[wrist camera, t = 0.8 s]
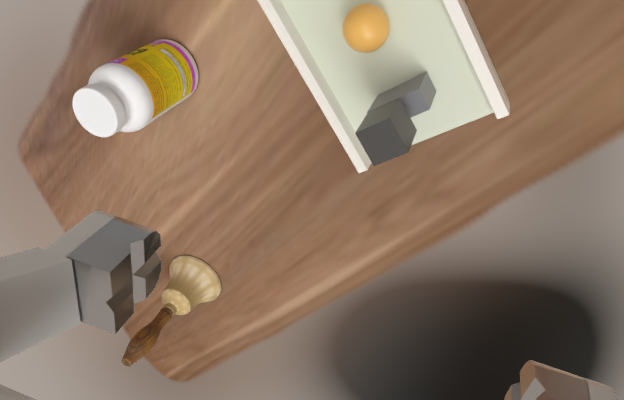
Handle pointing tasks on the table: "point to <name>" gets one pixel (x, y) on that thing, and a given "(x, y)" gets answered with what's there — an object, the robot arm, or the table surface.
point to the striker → (395, 119)
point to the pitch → (390, 63)
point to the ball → (366, 27)
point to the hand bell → (176, 301)
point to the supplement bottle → (136, 88)
